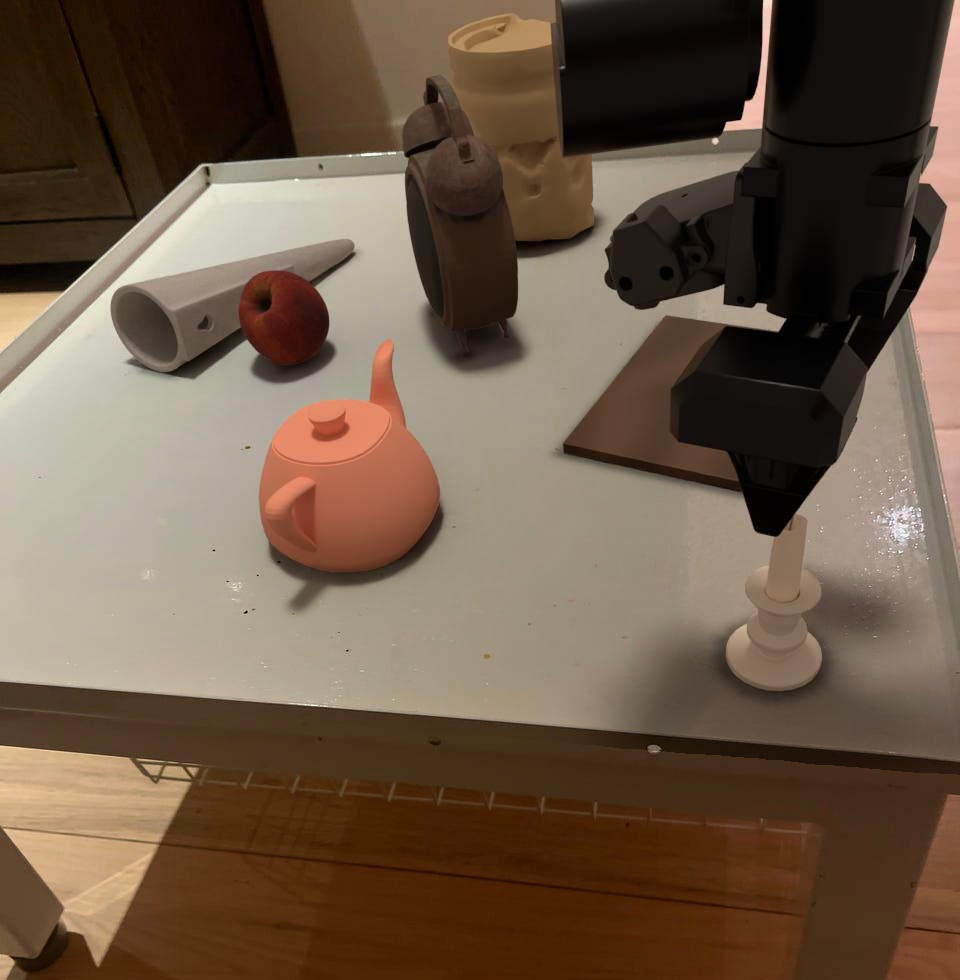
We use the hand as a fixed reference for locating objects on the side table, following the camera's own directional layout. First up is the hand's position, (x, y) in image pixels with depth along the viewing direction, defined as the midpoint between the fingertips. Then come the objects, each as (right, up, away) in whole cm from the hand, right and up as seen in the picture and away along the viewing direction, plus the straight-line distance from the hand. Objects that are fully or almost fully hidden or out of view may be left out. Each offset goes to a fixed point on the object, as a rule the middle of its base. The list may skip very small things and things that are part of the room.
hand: (797, 474), depth 45 cm
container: (-10, +34, +53) cm, 64 cm away
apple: (-31, +17, +41) cm, 54 cm away
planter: (-38, +25, +49) cm, 67 cm away
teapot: (-23, +1, +23) cm, 33 cm away
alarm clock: (-16, +20, +40) cm, 47 cm away
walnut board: (+2, +11, +28) cm, 30 cm away
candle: (+2, -9, +9) cm, 13 cm away
